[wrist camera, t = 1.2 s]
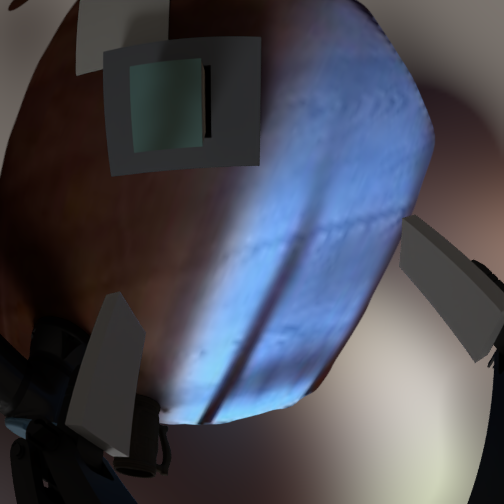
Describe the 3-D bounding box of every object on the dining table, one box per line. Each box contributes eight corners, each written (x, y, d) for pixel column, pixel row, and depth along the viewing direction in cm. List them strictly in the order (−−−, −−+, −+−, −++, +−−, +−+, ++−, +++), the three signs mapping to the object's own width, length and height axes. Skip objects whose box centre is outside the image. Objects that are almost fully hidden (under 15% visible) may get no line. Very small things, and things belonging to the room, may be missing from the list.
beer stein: (111, 402, 59) (107, 472, 43) (125, 388, 56) (121, 466, 39) (162, 418, 66) (166, 483, 50) (181, 405, 63) (187, 477, 46)
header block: (126, 163, 32) (111, 176, 27) (120, 58, 25) (103, 51, 20) (252, 154, 34) (259, 165, 29) (253, 46, 27) (261, 37, 22)
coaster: (77, 75, 25) (76, 75, 25) (82, -3, 19) (80, -3, 18) (168, 57, 26) (167, 57, 26) (171, -23, 20) (170, -24, 20)
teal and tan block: (165, 129, 31) (134, 152, 18) (164, 79, 28) (129, 66, 15) (206, 126, 32) (202, 146, 19) (206, 75, 28) (200, 58, 16)
